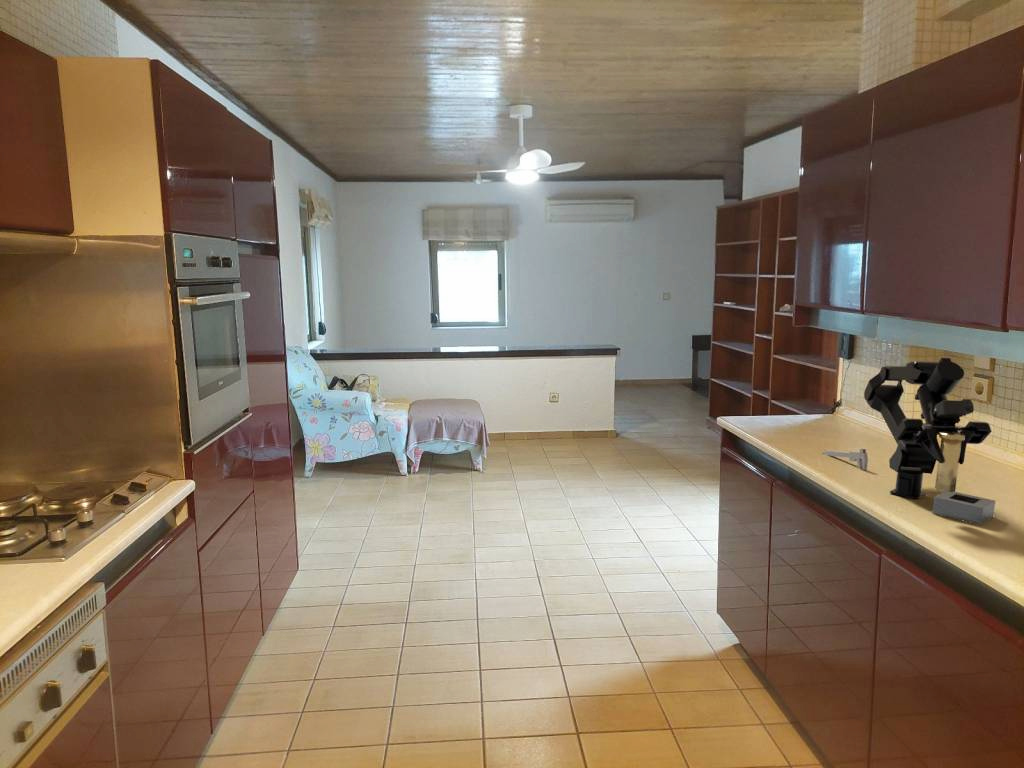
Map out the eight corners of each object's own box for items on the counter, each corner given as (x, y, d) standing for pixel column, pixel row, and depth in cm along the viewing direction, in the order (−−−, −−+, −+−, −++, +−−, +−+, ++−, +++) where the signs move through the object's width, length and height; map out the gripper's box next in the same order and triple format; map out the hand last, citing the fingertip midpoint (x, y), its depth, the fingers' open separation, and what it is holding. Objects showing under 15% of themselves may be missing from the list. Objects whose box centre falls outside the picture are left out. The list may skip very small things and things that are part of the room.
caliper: (866, 471, 205) (869, 450, 204) (863, 471, 205) (865, 450, 204) (824, 453, 225) (826, 434, 224) (821, 453, 225) (823, 434, 224)
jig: (945, 506, 175) (947, 490, 174) (993, 517, 167) (995, 500, 167) (932, 513, 169) (934, 497, 168) (980, 525, 162) (983, 508, 161)
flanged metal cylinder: (935, 484, 168) (942, 430, 166) (960, 489, 165) (967, 434, 163) (930, 489, 165) (937, 433, 162) (955, 494, 161) (962, 437, 159)
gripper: (906, 384, 166) (922, 442, 157) (992, 387, 164) (1014, 446, 155) (889, 411, 175) (903, 467, 166) (970, 414, 173) (989, 471, 164)
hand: (951, 462), depth 162 cm, fingers closed on flanged metal cylinder, 4 cm apart
